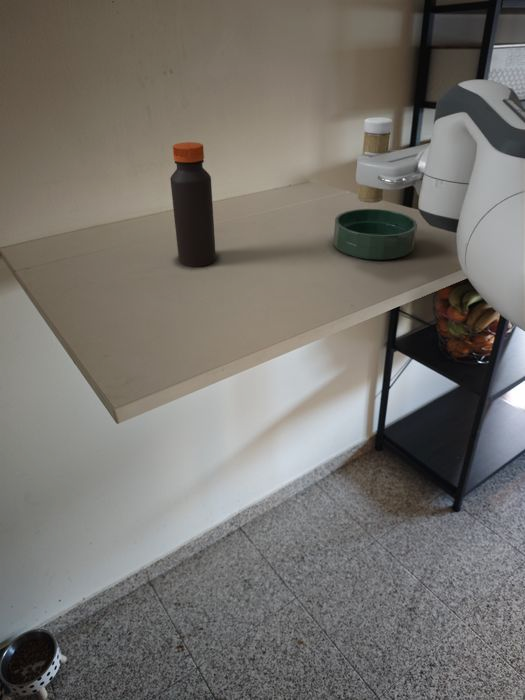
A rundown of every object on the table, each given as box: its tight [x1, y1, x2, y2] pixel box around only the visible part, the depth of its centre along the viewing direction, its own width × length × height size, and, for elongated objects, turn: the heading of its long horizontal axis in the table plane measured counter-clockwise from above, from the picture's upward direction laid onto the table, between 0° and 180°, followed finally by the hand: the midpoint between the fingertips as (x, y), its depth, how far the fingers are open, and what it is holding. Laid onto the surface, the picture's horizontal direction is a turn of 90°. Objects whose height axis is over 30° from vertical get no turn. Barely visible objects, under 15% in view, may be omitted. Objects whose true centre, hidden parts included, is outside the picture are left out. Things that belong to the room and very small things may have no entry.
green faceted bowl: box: [332, 208, 418, 261], centre depth 95 cm, size 15×15×5 cm
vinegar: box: [169, 141, 217, 268], centre depth 86 cm, size 7×7×20 cm
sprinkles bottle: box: [357, 116, 393, 204], centre depth 86 cm, size 5×5×13 cm
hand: (370, 157), depth 87 cm, fingers closed on sprinkles bottle, 4 cm apart
